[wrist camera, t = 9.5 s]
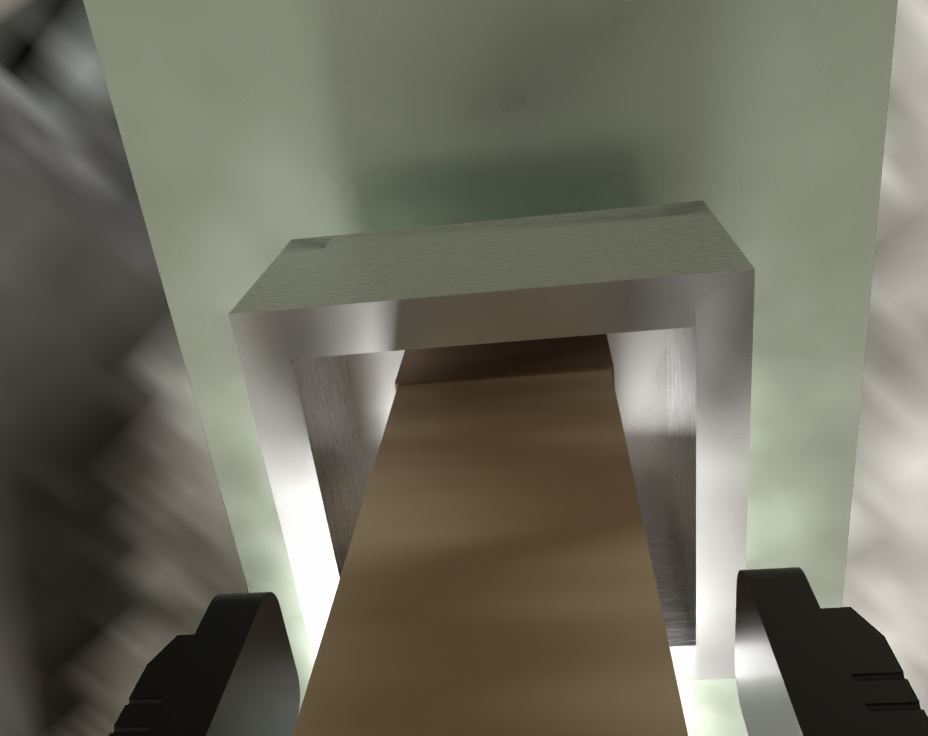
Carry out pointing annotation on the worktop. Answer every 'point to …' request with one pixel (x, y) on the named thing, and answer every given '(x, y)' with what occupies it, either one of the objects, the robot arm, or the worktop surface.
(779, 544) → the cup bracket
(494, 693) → the maple rail
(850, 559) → the worktop surface
